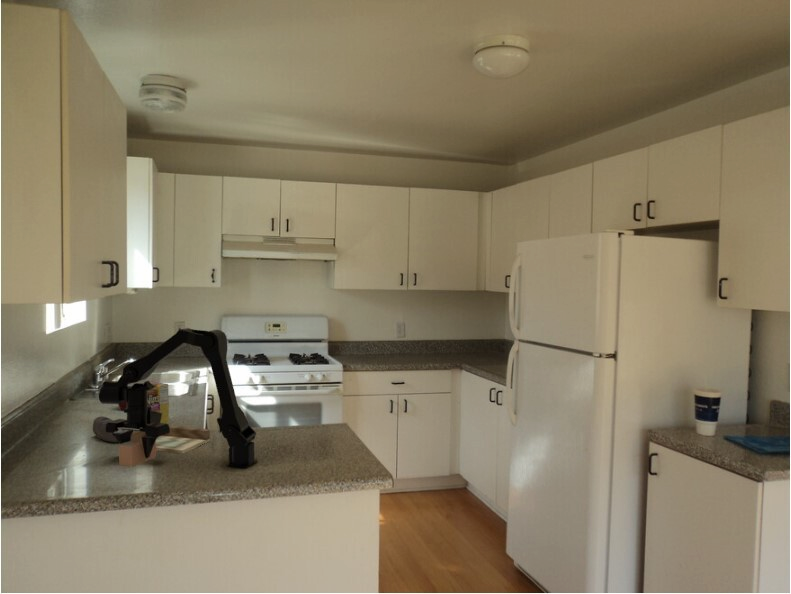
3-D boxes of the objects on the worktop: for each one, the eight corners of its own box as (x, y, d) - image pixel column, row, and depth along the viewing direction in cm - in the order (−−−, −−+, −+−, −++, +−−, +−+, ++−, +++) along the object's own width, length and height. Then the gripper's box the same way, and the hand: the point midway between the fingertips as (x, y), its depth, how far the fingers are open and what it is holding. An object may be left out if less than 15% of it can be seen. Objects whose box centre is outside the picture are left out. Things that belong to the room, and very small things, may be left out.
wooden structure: (209, 441, 197) (209, 429, 197) (182, 453, 184) (182, 440, 184) (154, 435, 204) (154, 424, 204) (124, 447, 190) (124, 434, 190)
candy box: (143, 424, 219) (142, 382, 219) (153, 421, 223) (152, 381, 223) (159, 427, 215) (159, 385, 214) (169, 424, 219) (169, 383, 218)
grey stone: (126, 443, 195) (126, 422, 195) (110, 446, 192) (109, 424, 191) (107, 434, 206) (107, 414, 205) (91, 437, 202) (91, 417, 201)
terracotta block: (155, 457, 181) (155, 436, 180) (131, 467, 171) (131, 445, 171) (143, 455, 182) (143, 435, 182) (119, 465, 173) (118, 444, 172)
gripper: (181, 401, 181) (182, 451, 181) (131, 396, 186) (131, 446, 187) (156, 408, 170) (156, 462, 171) (103, 404, 176) (104, 456, 176)
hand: (137, 456), depth 177 cm, fingers open, 7 cm apart
